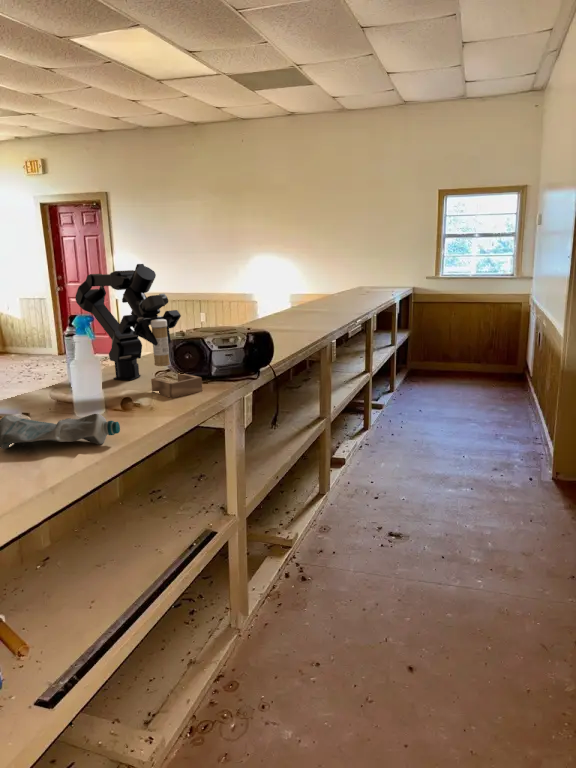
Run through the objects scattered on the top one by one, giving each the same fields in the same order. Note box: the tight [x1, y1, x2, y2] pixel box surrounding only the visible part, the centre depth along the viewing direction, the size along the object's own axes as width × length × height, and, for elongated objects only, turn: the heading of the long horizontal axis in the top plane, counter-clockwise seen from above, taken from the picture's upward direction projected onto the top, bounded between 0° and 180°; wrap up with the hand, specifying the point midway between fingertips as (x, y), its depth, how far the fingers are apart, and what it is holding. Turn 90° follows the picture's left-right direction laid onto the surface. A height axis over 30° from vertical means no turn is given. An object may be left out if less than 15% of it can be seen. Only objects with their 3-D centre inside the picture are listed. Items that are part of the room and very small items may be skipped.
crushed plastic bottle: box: [0, 413, 121, 450], centre depth 118 cm, size 13×7×25 cm
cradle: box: [150, 372, 203, 399], centre depth 161 cm, size 10×10×4 cm
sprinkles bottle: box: [150, 319, 171, 367], centre depth 162 cm, size 5×5×14 cm
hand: (163, 343), depth 162 cm, fingers closed on sprinkles bottle, 4 cm apart
